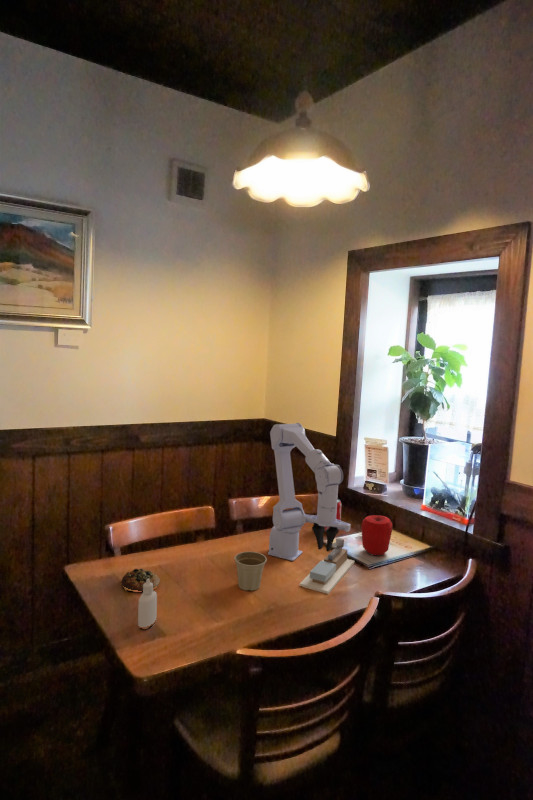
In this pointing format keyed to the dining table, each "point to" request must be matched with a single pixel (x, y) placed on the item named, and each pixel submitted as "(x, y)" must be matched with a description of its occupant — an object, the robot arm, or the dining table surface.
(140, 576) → the bread roll
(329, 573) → the cover
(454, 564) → the dining table surface
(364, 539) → the apple
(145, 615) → the eye dropper bottle
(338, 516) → the soda can
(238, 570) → the flower pot
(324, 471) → the robot arm
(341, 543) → the bolt
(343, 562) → the latch box
